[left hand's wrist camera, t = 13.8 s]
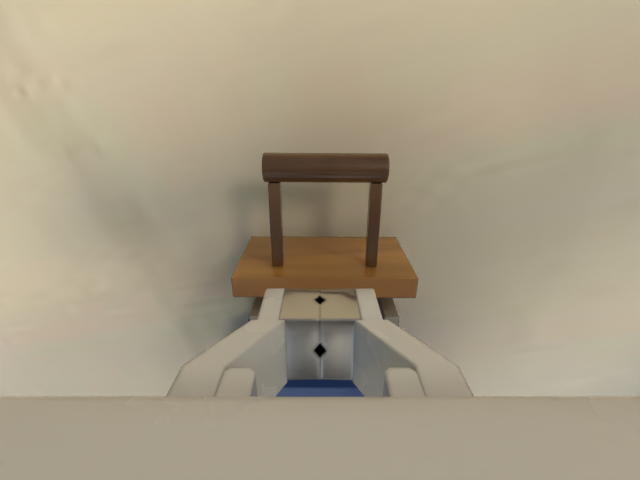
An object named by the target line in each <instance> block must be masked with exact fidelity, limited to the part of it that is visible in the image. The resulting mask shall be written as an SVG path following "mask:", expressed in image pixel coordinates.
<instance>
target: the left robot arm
mask: <svg viewBox="0 0 640 480" xmlns="http://www.w3.org/2000/svg"><path fill="white" fill-rule="evenodd" d="M318 379H321V380H353V383H354V384H355V385H356V387H357V388H358V389H359V390H360V391H361V393H362V394H363V395H364V396H365V397H276V395H277V394H278V393H279V392H280V391H281V389H282V388H283V387H284V386H285V384H286V383H287V380H318ZM0 480H640V397H474V396H473V394H472V392H471V390H470V388H469V386H468V384H467V382H466V380H465V378H464V376H463V374H462V372H461V370H460V368H459V367H458V366H457V365H455V364H454V363H452V362H451V361H449V360H448V359H446V358H445V357H443V356H442V355H440V354H439V353H437V352H436V351H434V350H433V349H431V348H430V347H428V346H427V345H425V344H424V343H422V342H421V341H419V340H418V339H416V338H415V337H413V336H412V335H410V334H409V333H407V332H406V331H404V330H403V329H401V328H400V327H398V326H397V325H395V324H394V323H392V322H390V321H389V320H383V318H382V315H381V312H380V308H379V305H378V301H377V298H376V294H375V291H374V289H373V288H362V289H355V288H353V289H284V288H268V289H266V291H265V294H264V298H263V301H262V304H261V308H260V311H259V315H258V318H257V320H251V321H250V322H248V323H246V324H245V325H243V326H242V327H240V328H239V329H237V330H236V331H234V332H233V333H231V334H230V335H228V336H227V337H225V338H224V339H222V340H221V341H219V342H218V343H216V344H215V345H213V346H212V347H210V348H209V349H207V350H206V351H204V352H202V353H201V354H199V355H198V356H196V357H195V358H193V359H192V360H190V361H189V362H187V363H186V364H184V365H183V366H182V367H181V369H180V371H179V373H178V375H177V376H176V378H175V380H174V382H173V384H172V386H171V388H170V390H169V392H168V394H167V396H166V397H0Z"/></svg>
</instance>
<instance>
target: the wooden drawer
mask: <svg viewBox="0 0 640 480" xmlns="http://www.w3.org/2000/svg"><path fill="white" fill-rule="evenodd" d="M262 175H263V180H264V182H269V183H268V193H269V213H270V233H271V237H251V239H250V241H249V243H248V245H247V247H246V249H245V251H244V253H243V255H242V257H241V259H240V261H239V263H238V265H237V267H236V269H235V271H234V273H233V275H232V277H231V281H232V291H233V297H255V300H254V303H253V307H252V310H251V313H250V316H249V320H250V321H251V320H257V318H258V315H259V311H260V308H261V304H262V301H263V298H264V294H265V291H266V289H268V288H284V289H353V288H355V289H362V288H373V289H374V291H375V294H376V298H377V301H378V305H379V308H380V312H381V315H382V318H383V320H389V321H390V322H392V323H394V324H395V325H397V326H398V323H399V316H398V313H397V310H396V307H395V305H394V302H393V299H392V298H415V297H416V292H417V284H418V277H417V276H416V274H415V272H414V270H413V268H412V266H411V265H410V263H409V261H408V259H407V257H406V255H405V254H404V252H403V250H402V248H401V246H400V244H399V243H398V241H397V239H396V238H395V237H379V227H380V213H381V199H382V183H385V182H387V180H388V176H389V156H388V154H379V153H264V154H263V157H262ZM281 182H356V183H369V201H368V218H367V235H366V237H283V227H282V199H281Z"/></svg>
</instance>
